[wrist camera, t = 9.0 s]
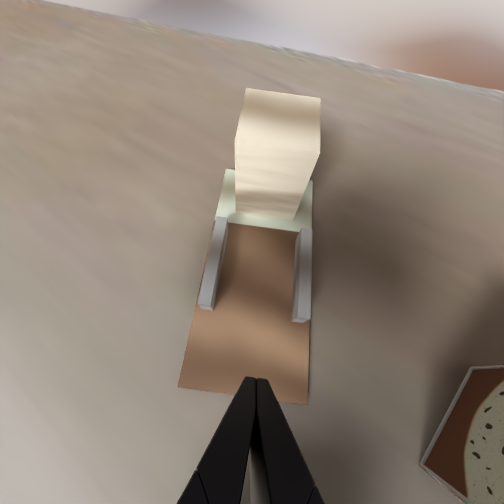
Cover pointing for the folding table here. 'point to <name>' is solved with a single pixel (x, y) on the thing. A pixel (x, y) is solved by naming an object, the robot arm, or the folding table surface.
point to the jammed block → (275, 152)
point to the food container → (472, 439)
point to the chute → (253, 302)
